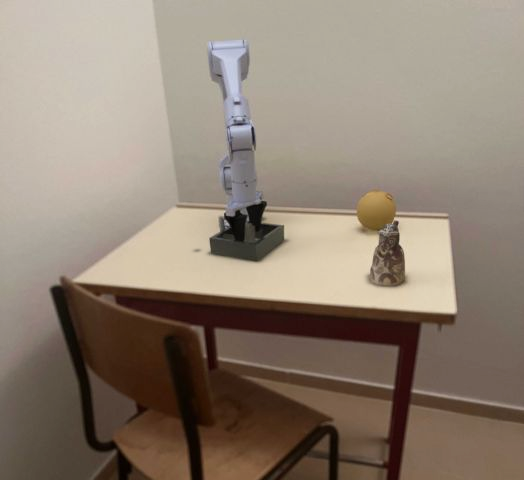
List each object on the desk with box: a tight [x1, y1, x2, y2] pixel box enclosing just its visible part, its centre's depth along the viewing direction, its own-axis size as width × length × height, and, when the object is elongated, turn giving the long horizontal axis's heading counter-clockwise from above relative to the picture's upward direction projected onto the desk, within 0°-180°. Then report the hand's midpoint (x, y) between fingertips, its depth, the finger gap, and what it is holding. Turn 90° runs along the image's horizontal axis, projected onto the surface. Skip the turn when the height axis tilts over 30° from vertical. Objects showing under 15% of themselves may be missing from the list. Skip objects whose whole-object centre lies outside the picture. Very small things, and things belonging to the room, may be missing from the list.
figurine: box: [369, 219, 406, 287], centre depth 106 cm, size 7×7×12 cm
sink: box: [208, 215, 285, 262], centre depth 127 cm, size 14×15×7 cm
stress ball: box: [356, 189, 397, 231], centre depth 132 cm, size 10×10×10 cm
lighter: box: [244, 220, 257, 243], centre depth 127 cm, size 7×2×8 cm, turn 162°
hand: (247, 236), depth 127 cm, fingers closed on lighter, 7 cm apart
